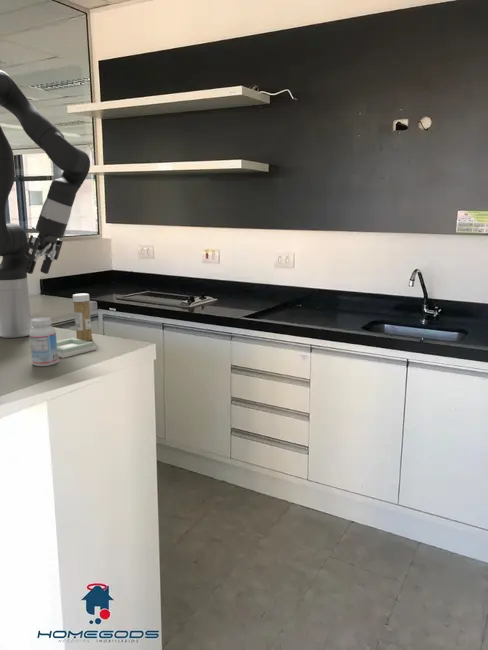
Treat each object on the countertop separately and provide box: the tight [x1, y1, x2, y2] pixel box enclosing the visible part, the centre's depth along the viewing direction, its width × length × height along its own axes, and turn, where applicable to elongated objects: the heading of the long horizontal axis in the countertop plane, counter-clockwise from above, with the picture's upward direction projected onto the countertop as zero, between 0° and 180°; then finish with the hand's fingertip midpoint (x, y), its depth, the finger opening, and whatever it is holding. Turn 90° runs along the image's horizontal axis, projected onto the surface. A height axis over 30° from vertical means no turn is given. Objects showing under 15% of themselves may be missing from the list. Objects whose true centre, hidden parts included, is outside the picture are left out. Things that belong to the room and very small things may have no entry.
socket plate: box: [56, 337, 97, 358], centre depth 147 cm, size 10×10×2 cm
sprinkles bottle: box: [72, 292, 93, 342], centre depth 157 cm, size 5×5×13 cm
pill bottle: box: [28, 316, 59, 367], centre depth 134 cm, size 6×6×11 cm
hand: (36, 272), depth 154 cm, fingers open, 8 cm apart
